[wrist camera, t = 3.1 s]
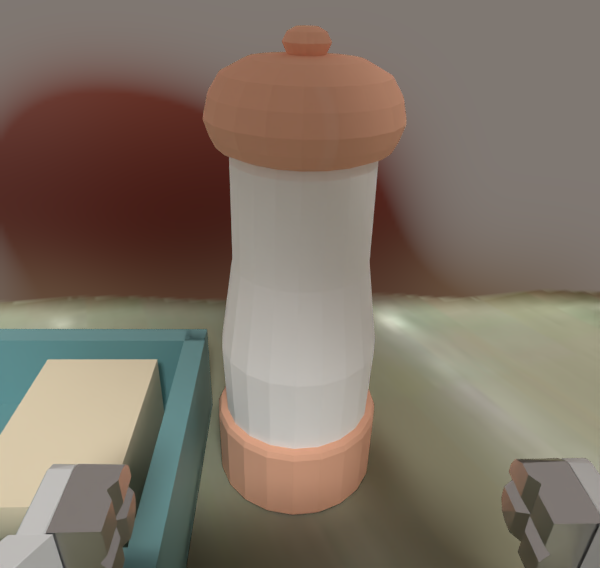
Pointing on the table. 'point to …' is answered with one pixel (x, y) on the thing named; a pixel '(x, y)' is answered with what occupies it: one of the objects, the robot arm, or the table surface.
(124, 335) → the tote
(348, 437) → the salt shaker
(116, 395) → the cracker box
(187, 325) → the table surface
